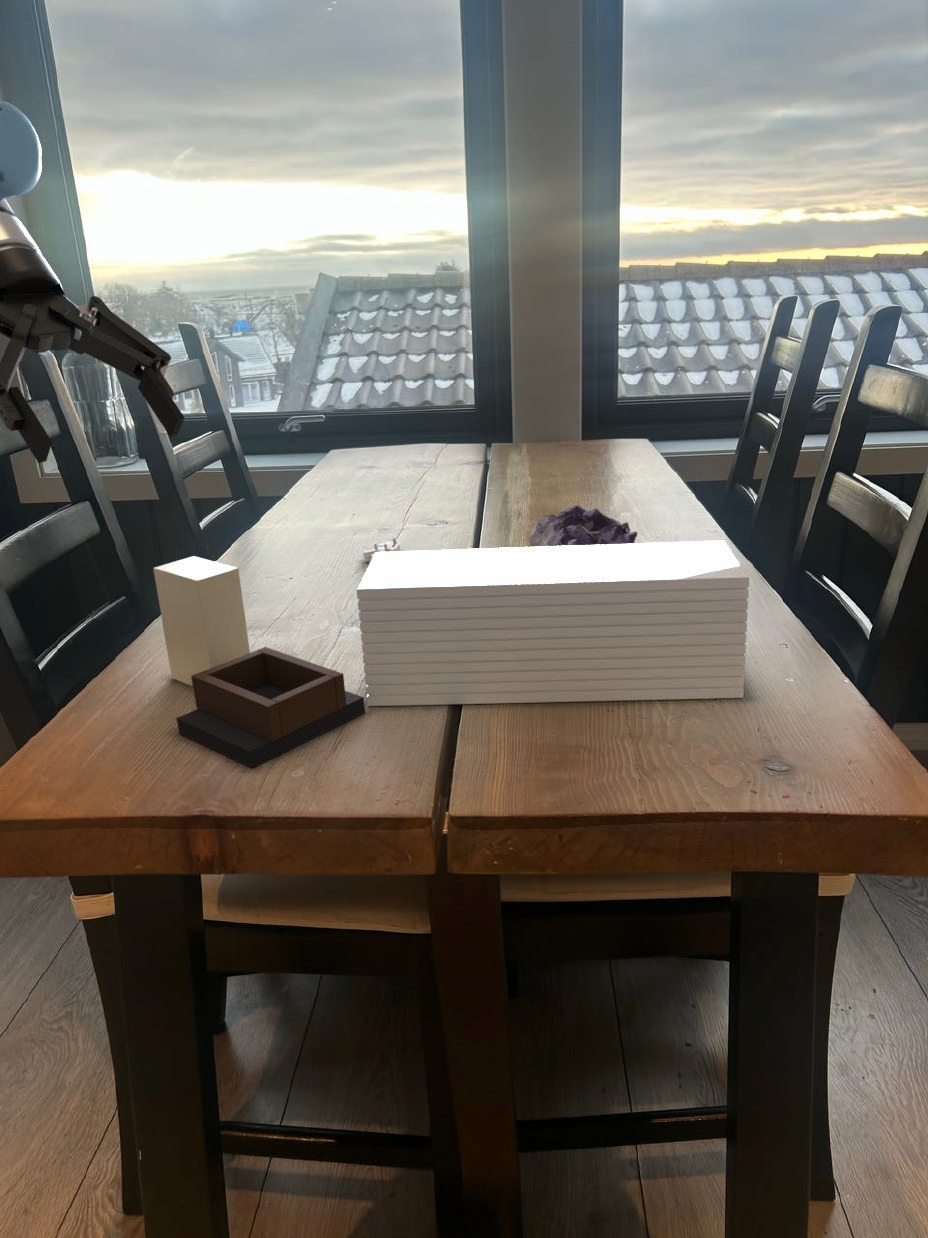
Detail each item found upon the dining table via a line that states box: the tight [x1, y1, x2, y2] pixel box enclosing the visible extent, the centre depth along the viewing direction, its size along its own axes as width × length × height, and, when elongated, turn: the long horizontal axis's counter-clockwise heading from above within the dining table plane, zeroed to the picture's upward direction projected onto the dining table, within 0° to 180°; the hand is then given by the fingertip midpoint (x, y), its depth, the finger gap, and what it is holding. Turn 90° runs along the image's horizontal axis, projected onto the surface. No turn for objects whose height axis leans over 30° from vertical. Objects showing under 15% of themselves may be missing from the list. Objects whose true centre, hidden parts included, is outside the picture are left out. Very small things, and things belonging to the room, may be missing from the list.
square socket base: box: [176, 646, 366, 769], centre depth 84 cm, size 12×10×4 cm
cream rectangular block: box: [152, 555, 251, 688], centre depth 92 cm, size 4×7×11 cm, turn 48°
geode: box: [528, 504, 638, 547], centre depth 110 cm, size 20×12×10 cm, turn 9°
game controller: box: [362, 537, 423, 562], centre depth 127 cm, size 6×12×3 cm, turn 101°
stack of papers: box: [356, 540, 750, 707], centre depth 89 cm, size 32×11×11 cm, turn 87°
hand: (114, 439), depth 93 cm, fingers open, 13 cm apart
